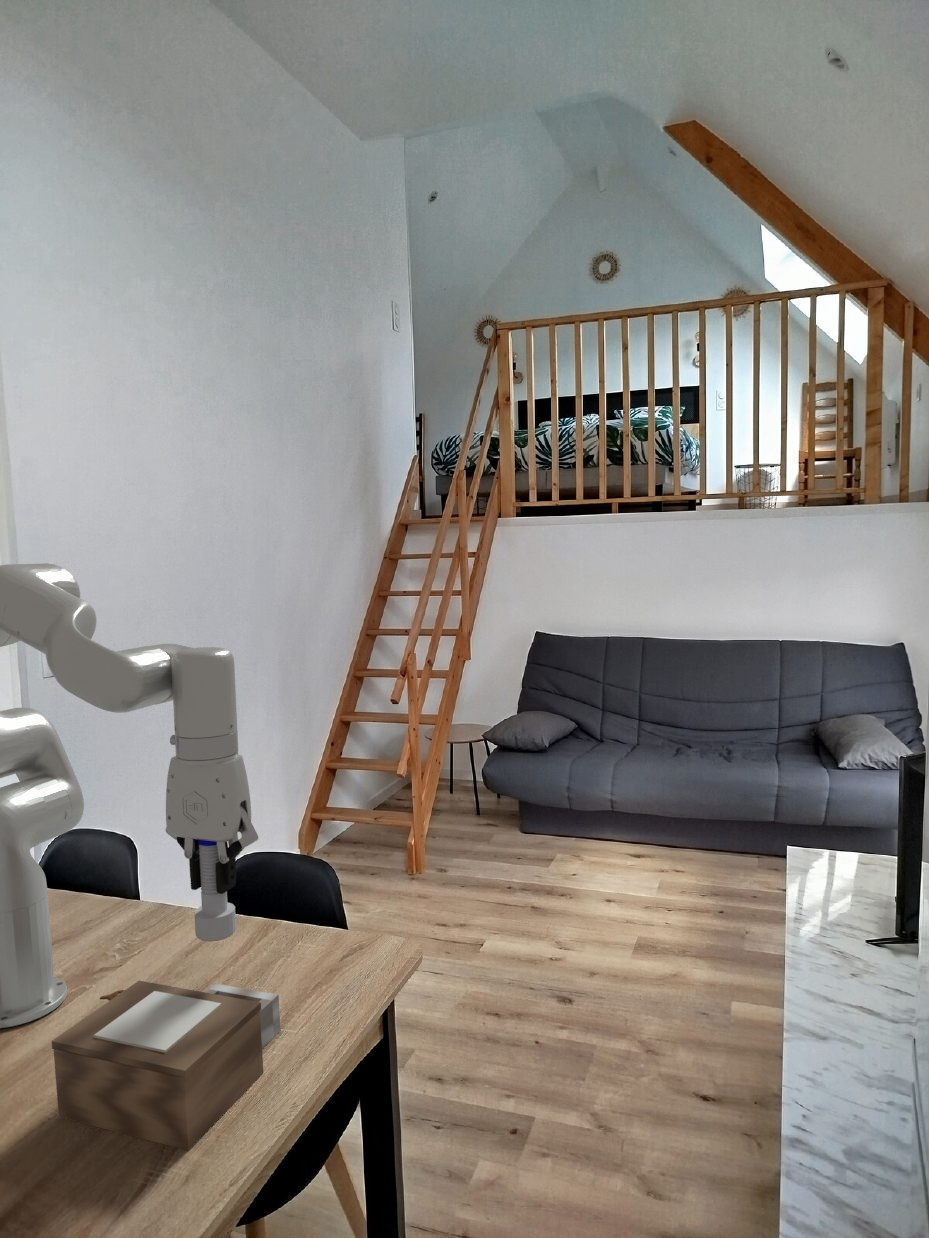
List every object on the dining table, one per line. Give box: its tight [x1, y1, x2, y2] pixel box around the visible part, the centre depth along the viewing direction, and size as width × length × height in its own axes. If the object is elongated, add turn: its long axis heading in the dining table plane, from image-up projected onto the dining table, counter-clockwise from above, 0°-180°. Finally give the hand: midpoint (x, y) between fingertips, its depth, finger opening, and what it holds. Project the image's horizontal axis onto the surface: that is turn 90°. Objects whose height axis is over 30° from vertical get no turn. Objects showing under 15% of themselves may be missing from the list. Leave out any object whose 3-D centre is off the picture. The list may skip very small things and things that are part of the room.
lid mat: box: [94, 991, 222, 1053], centre depth 99 cm, size 10×10×1 cm
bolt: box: [194, 840, 237, 942], centre depth 107 cm, size 16×5×5 cm
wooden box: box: [51, 980, 281, 1151], centre depth 103 cm, size 18×22×9 cm
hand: (213, 886), depth 107 cm, fingers closed on bolt, 3 cm apart
